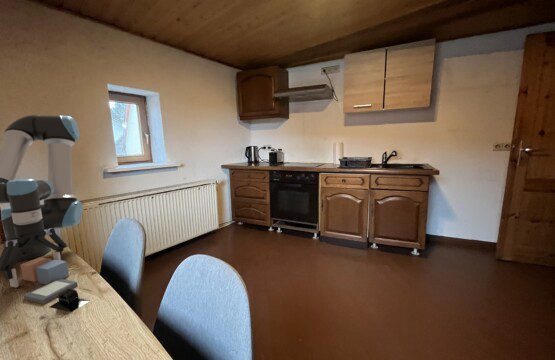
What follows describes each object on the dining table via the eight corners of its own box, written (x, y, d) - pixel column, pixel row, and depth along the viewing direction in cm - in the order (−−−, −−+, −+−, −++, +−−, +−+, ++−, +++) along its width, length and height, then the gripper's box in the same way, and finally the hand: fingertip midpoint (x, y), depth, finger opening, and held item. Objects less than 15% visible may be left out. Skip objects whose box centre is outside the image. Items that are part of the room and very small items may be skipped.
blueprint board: (58, 282, 88) (58, 278, 88) (77, 285, 86) (76, 281, 85) (24, 299, 78) (23, 295, 78) (43, 303, 76) (43, 299, 76)
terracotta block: (42, 271, 96) (40, 257, 95) (53, 273, 94) (51, 258, 93) (23, 279, 90) (20, 264, 89) (34, 282, 89) (31, 266, 88)
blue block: (57, 274, 94) (54, 259, 93) (68, 276, 92) (66, 261, 91) (38, 282, 88) (35, 267, 87) (50, 285, 86) (47, 269, 85)
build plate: (42, 309, 74) (39, 295, 74) (68, 295, 81) (66, 282, 81) (72, 316, 71) (70, 302, 70) (96, 301, 78) (94, 287, 77)
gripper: (-13, 235, 76) (-1, 297, 79) (72, 212, 100) (80, 261, 103) (-29, 233, 78) (-16, 294, 81) (59, 211, 102) (67, 259, 105)
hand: (38, 276), depth 92 cm, fingers open, 13 cm apart
